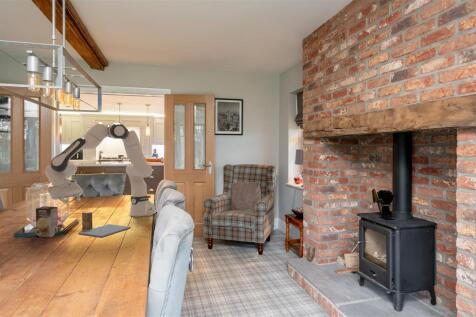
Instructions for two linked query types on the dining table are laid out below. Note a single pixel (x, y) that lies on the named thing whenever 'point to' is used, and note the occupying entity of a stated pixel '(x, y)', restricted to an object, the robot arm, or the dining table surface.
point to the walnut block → (87, 220)
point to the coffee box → (46, 221)
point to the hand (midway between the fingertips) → (72, 201)
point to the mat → (104, 230)
